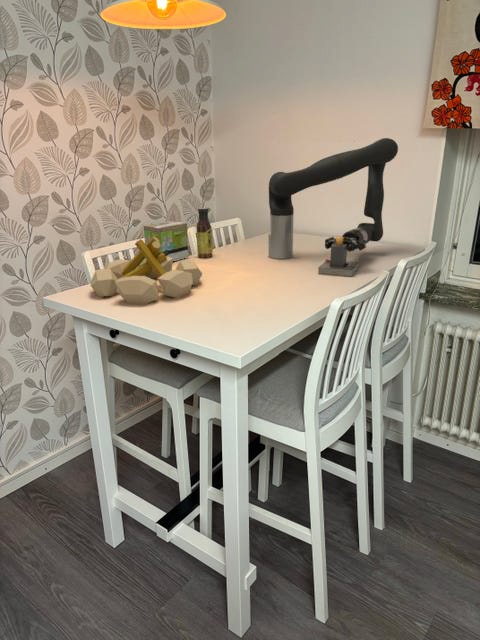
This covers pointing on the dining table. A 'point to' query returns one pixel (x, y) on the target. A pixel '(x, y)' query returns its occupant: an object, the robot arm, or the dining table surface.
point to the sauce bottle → (204, 234)
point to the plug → (338, 253)
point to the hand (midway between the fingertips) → (337, 247)
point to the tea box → (169, 238)
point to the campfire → (146, 275)
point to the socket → (338, 269)
